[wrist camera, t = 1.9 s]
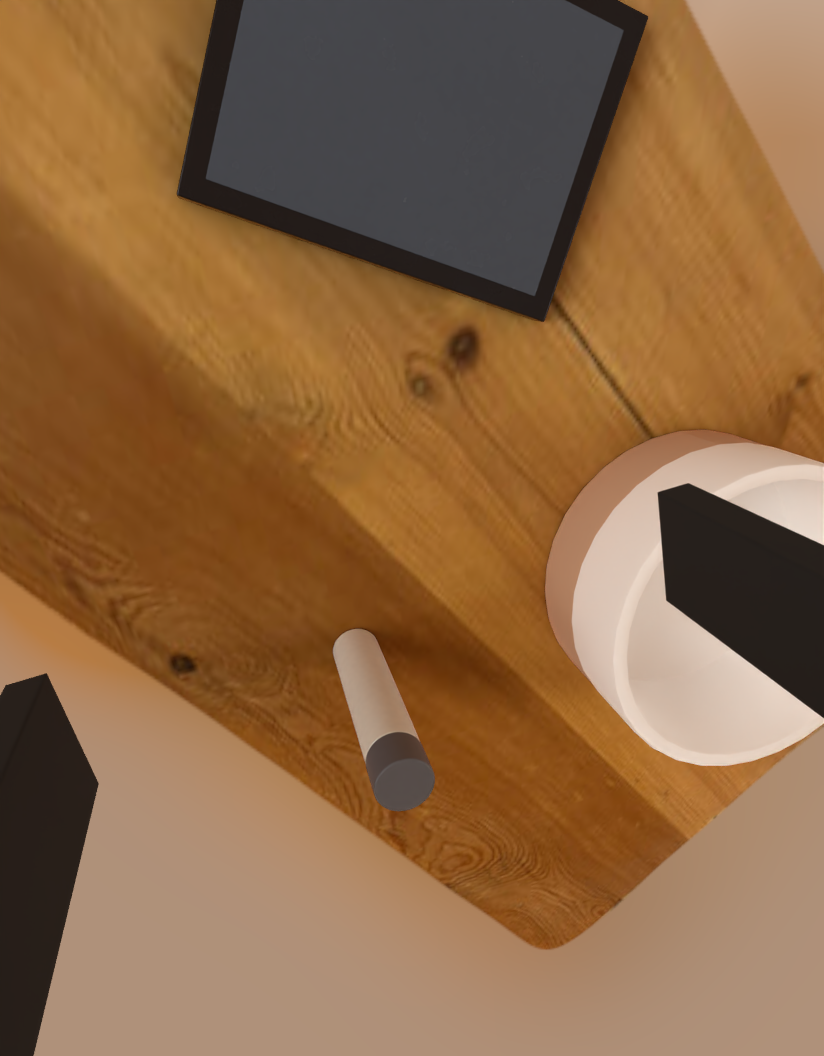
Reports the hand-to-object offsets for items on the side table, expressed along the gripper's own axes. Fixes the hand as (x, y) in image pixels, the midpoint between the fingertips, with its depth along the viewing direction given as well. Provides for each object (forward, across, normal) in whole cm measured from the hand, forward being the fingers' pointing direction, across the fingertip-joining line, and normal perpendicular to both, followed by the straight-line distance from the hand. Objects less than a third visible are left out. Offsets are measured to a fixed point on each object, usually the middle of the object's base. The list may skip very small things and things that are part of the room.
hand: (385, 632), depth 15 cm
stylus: (+23, 0, -14) cm, 27 cm away
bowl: (+23, +20, -15) cm, 34 cm away
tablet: (+23, +9, +12) cm, 28 cm away
